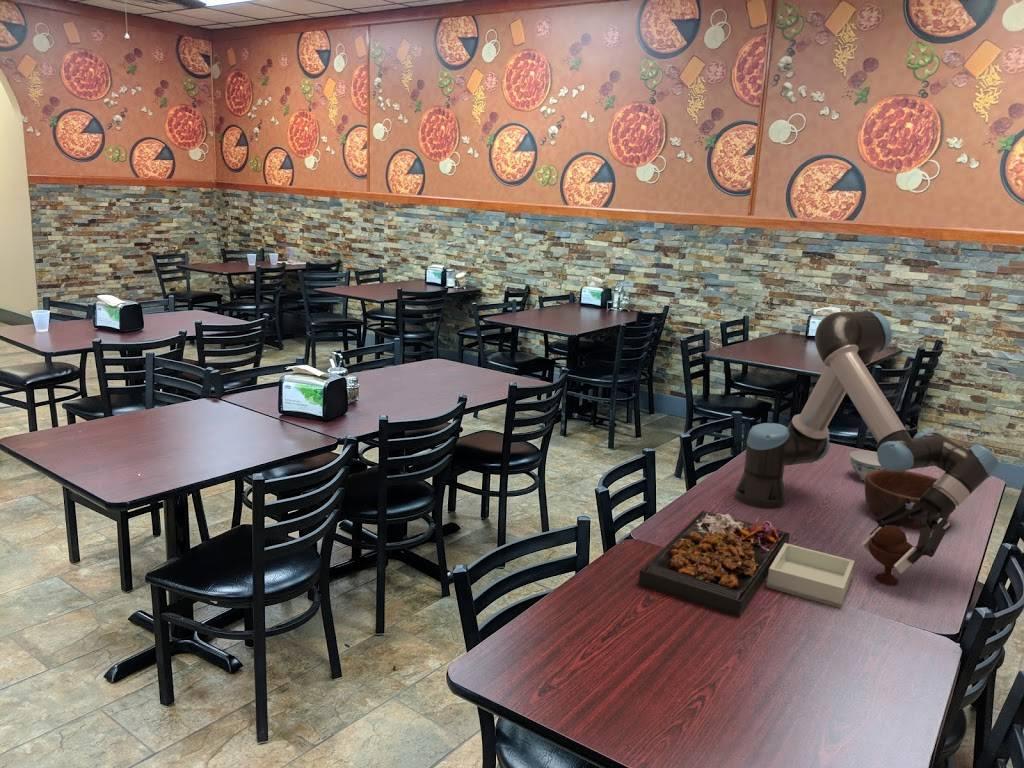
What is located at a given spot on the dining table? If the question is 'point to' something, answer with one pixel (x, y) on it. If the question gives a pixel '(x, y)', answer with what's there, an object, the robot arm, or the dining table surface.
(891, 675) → the dining table surface
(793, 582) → the bin
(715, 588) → the food platter
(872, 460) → the chinaware
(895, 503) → the wooden bowl
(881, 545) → the ice cream bowl
